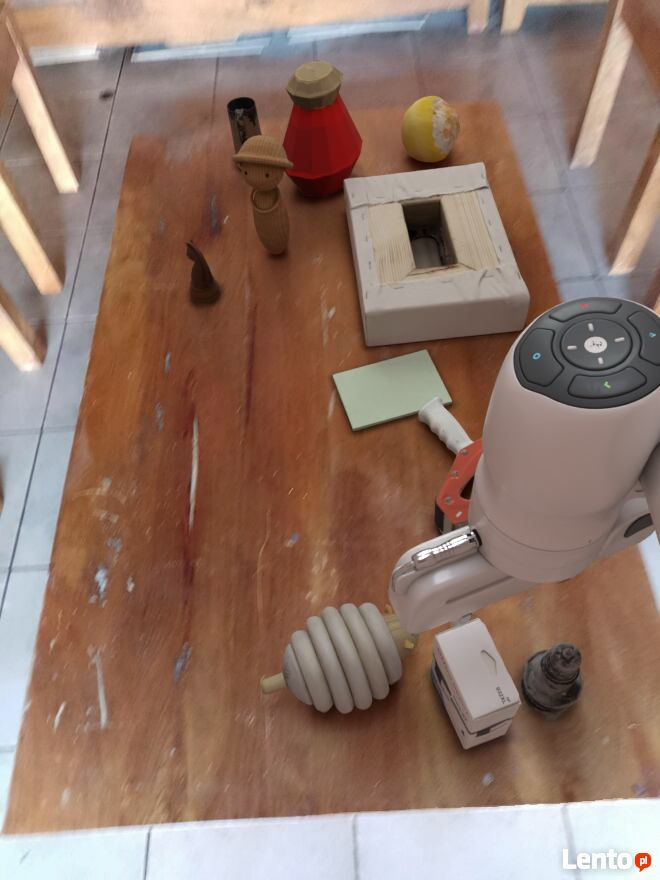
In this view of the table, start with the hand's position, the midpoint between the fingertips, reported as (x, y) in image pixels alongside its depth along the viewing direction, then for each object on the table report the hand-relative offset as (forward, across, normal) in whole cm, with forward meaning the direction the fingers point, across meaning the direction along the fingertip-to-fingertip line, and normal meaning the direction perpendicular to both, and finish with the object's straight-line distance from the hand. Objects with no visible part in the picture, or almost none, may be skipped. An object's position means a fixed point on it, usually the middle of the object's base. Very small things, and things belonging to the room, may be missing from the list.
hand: (509, 594), depth 58 cm
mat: (+22, +7, +39) cm, 46 cm away
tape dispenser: (+22, +11, +22) cm, 33 cm away
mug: (+23, +6, +99) cm, 102 cm away
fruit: (+22, +36, +86) cm, 96 cm away
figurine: (+22, +2, +74) cm, 77 cm away
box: (+22, +22, +60) cm, 68 cm away
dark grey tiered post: (+22, +6, -4) cm, 23 cm away
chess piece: (+23, -11, +69) cm, 74 cm away
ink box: (+22, -3, -2) cm, 22 cm away
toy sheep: (+22, -13, +6) cm, 27 cm away
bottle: (+22, +16, +88) cm, 92 cm away
